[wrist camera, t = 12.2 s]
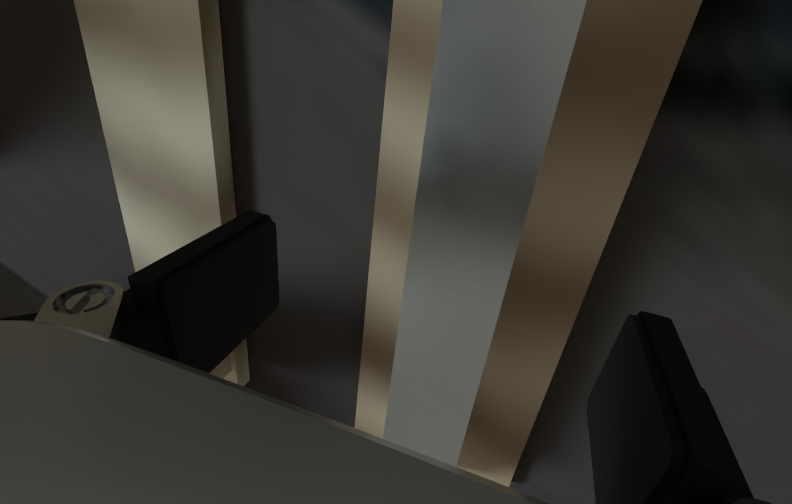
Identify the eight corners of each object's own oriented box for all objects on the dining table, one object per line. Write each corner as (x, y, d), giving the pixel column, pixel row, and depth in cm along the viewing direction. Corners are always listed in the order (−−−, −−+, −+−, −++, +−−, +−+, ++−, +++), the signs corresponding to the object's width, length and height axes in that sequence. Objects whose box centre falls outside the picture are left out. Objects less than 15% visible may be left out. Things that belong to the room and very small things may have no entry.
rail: (503, -205, 10) (483, -298, 7) (641, -210, 9) (675, -318, 6) (396, 445, 21) (374, 500, 18) (454, 468, 20) (438, 528, 17)
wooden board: (420, -199, 11) (412, -212, 10) (779, -211, 9) (793, -228, 8) (358, 422, 22) (354, 431, 21) (507, 481, 20) (506, 492, 19)
